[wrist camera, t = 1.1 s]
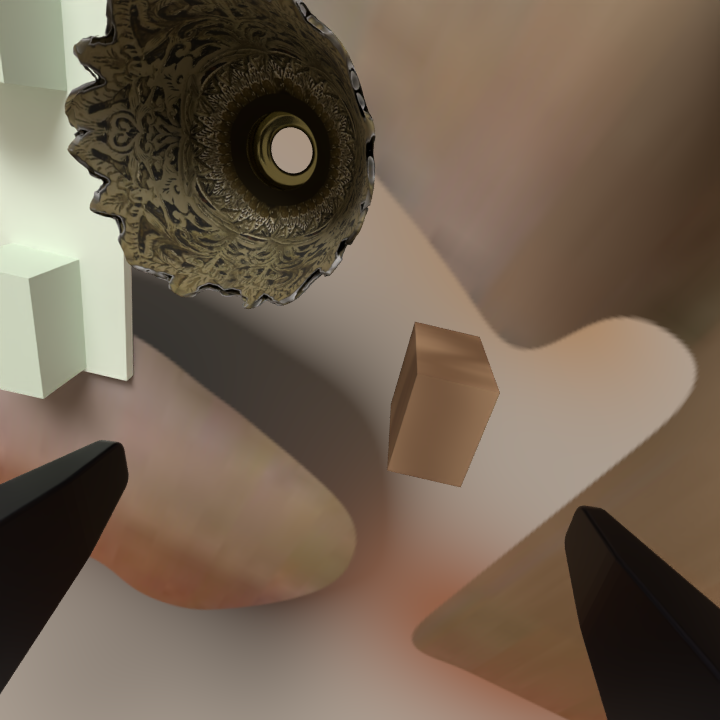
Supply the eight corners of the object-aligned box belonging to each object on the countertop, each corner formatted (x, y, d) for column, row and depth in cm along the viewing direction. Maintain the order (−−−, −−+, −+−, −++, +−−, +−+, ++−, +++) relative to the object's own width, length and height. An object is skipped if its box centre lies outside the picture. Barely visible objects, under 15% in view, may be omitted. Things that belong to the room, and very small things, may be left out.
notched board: (125, -92, 15) (48, -153, 12) (133, 375, 23) (89, 414, 20) (-85, -143, 15) (-221, -220, 12) (-3, 343, 23) (-70, 377, 20)
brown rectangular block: (479, 336, 21) (499, 393, 16) (449, 417, 23) (460, 487, 18) (415, 321, 21) (417, 373, 16) (391, 403, 23) (387, 470, 18)
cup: (191, 219, 19) (65, 268, 12) (208, 9, 16) (48, -91, 9) (360, 266, 20) (334, 342, 12) (412, 69, 16) (416, 19, 9)
